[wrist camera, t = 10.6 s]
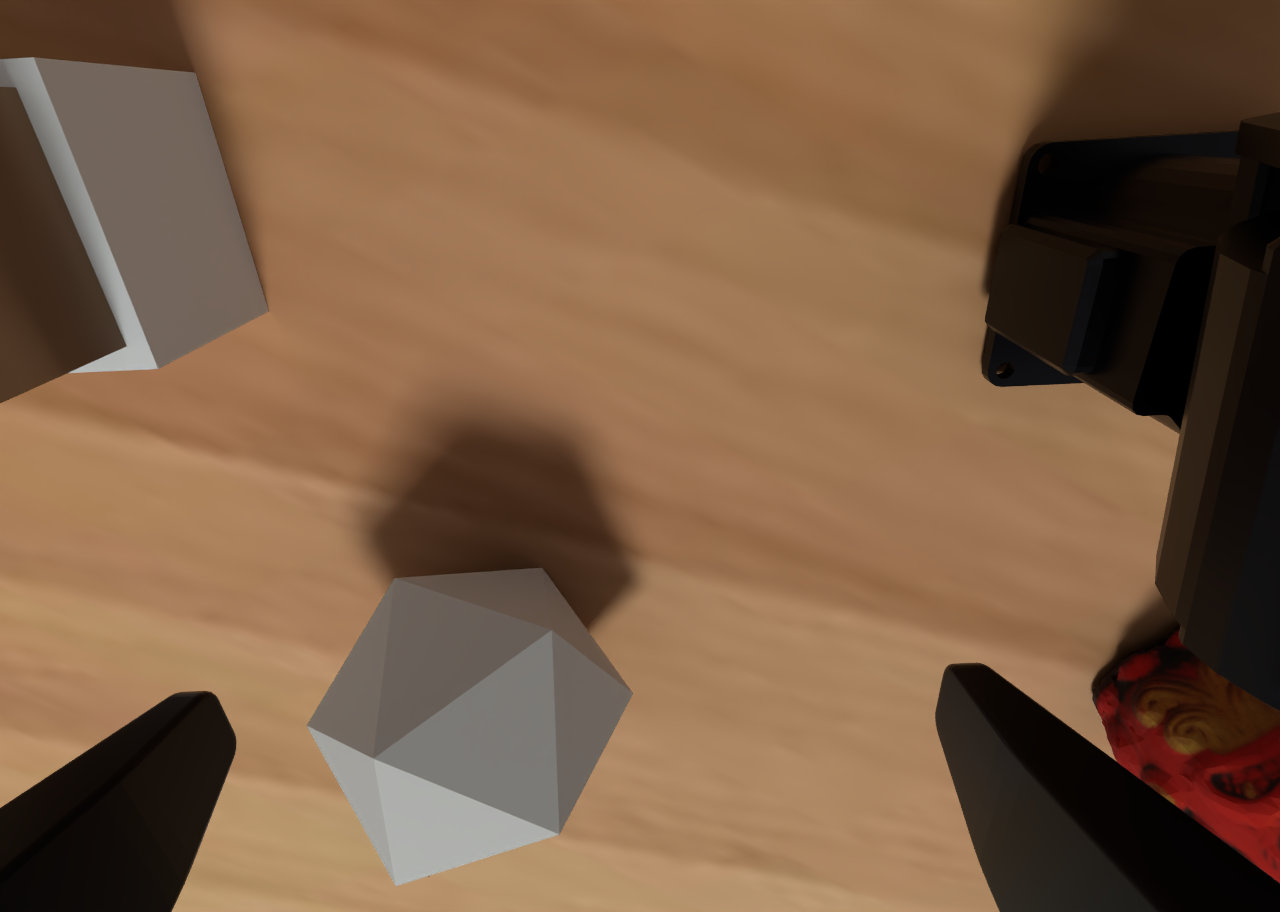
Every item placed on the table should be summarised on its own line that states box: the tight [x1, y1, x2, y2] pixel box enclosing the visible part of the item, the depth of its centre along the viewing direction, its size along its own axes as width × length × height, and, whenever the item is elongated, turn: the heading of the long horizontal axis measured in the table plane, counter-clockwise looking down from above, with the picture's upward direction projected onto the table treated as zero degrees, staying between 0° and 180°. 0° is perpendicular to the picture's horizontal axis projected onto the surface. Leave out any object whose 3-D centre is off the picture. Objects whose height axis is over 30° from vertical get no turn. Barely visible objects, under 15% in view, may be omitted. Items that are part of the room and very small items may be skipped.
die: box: [307, 568, 633, 886], centre depth 21 cm, size 8×9×10 cm
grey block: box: [0, 57, 269, 373], centre depth 16 cm, size 6×6×5 cm
